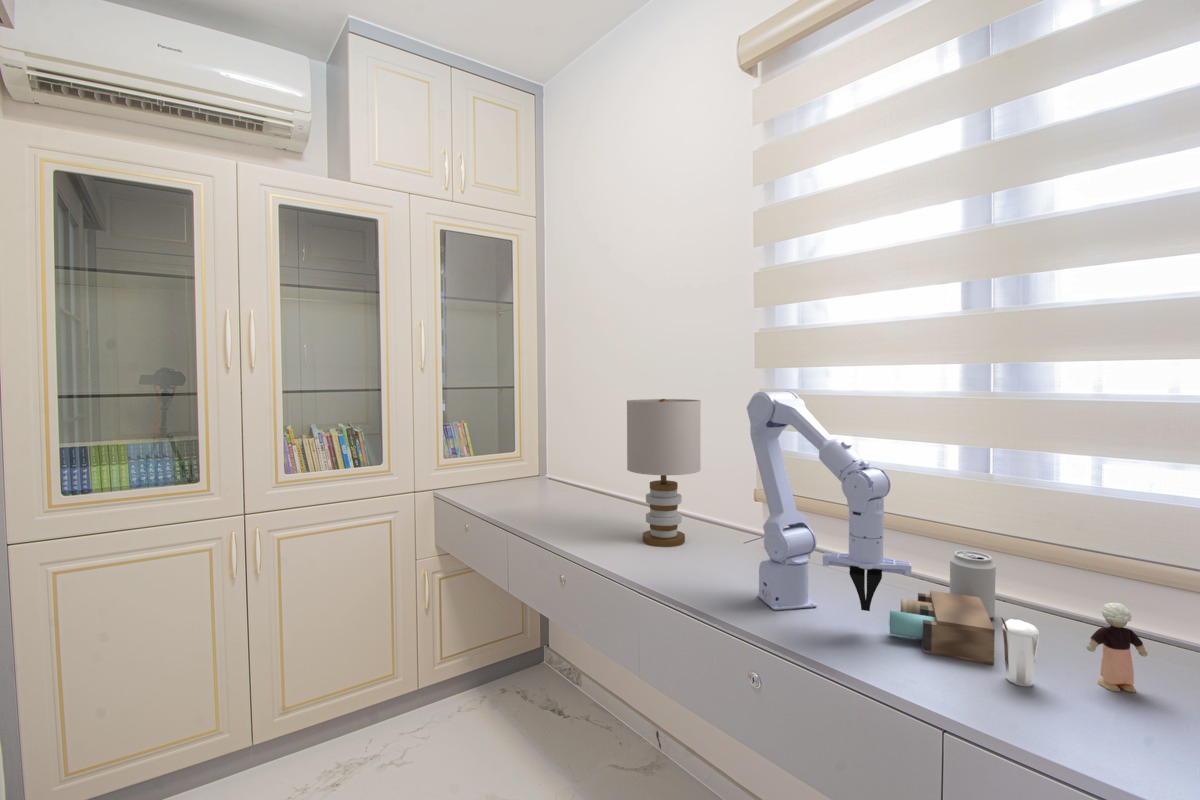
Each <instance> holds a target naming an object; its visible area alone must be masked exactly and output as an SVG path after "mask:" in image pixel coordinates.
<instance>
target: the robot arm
mask: <svg viewBox="0 0 1200 800" xmlns="http://www.w3.org/2000/svg"><path fill="white" fill-rule="evenodd" d="M746 411H747V415H748V419H749V423H750V429H749V430H750V431H749V432H750V434H749V435H750V439H751V442H752V443H751V444H752V447H753V448H752V449H753V452H754V454H755V455H754V456H755V460H756V463H757V468H758V471H759V475H760V478H761V479H760V480H761V482H762V487H763V491H764V495H765V499H766V503H767V507H768V512H769V516H768V518H767V520H766V521H765V522H764V524H763V526H762V528H763V532H764V539H763V545H764V549H765V552H766V554H767V555H768V556H769V558H768V559H766V560H762V561H761V562H760V564H759V567H758V593H757V595H756V596H757V597H758V598H759V599H760V600H762V601H763V603H765V604H766V605H768V606H769V607H770V608H771V609H772V610H774V611H778V610H793V609H803V608H804V609H805V608H808V609H809V608H816V607H817V606H818V604H817V603H816V602H814V601H813V600H812V599H810V598H809V560H810V559H811V555H812V553H814V552H815V550H816V547H817V542H818V541H817V537H816V534H815V532H814V531H813V529H812V527H810V524H809V520H808V517H806V516H805V515H804V514H802V513H801V512H800V511H799V510H797V509H798V508H797V506H796V501H795V499H794V494H793V490H792V486H791V484H790V483H791V482H790V479H789V475H788V471H787V468H786V463H785V461H784V457H783V456H784V455H783V452H782V448H781V445H780V441H779V437H780V435H781V433H782V432H783V430H785V429H786V428H787V427H788V426H791V427H793V428H794V429H795V430H796V431H797V432H798V433H799V434H801V436H802V437H804V438H805V439H806V440H807V441H808V442H809V443H810V444H811V445H812V446H814V447H815V449H817V450H818V458H819V461H821V463H822V464H823V465H824V466H825V467H826V468H827V469H828V470H829V471H830V472H831V473H832V474H833V475H834V476H835V477H836V478H837V480H839V482H841V490H842V493H843V494H844V496H845V497H846V501H847V503H846V504H847V507H848V553H840V552H839V553H836V552H835V553H833V552H823V553H822V566H825V567H829V566H833V567H840V568H841V567H842V568H848V569H849V571H848V572H849V576H850V579H851V581H852V583H853V585H854V586H855V589H856V592H857V594H858V598H859V602H860V608H861V609H860V610H861V611H865V612H870V611H871V603H872V601H873V597H874V594H875V592H876V590H877V588H878V586H879V585H880V583H881V582H882V581H881V580H882V579H883V573H888V574H889V573H891V574H897V575H898V574H900V575H904V576H905V577H912V562H909V561H902V560H897V559H892V558H888V557H887V558H886V557H884V514H885V513H884V507H885V506H884V503H885V502H884V501H885V498H886V497H887V496H888V495H889V493H890V491H891V480H890V477H889V476H888V475H887V473H886V472H885V470H884V469H883V468H881V467H878V466H871V464H870V462H869V461H868V460H865V459H863V458H862V457H861V456H860V455H859V454H858V453H857V452H856V451H855V450H853V448H852V444H851V442H849V441H848V440H844V439H843V438H833V437H832V436H831V434H830V433H828V431H827V430H826V429H825V428H824V427H823V426H822V425H821V423H819V421H818V419H816V418H815V417H814V416H813V414H812V413H811V412H810V411H809V410H808V409H807V407H806V403H805V401H804V400H803V399H801V397H799V395H798V394H797V393H795V392H794V391H790V390H786V391H769V392H767V391H758V392H756V393H754V394H753V395H752V396H751V399H750V400H749V403H748V404H747V405H746ZM786 526H788V527H786ZM865 572H866V573H865ZM865 578H866V579H865ZM865 580H866V581H865ZM865 582H866V583H865Z"/></svg>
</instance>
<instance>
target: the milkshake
mask: <svg viewBox="0 0 1200 800" xmlns="http://www.w3.org/2000/svg"><path fill="white" fill-rule="evenodd" d="M1000 618H1001V621H1002V623H1003V624H1002V636H1003V647H1004V665H1005V666H1004V667H1005V679H1007V681H1009V682H1010V683H1012V684H1013V685H1017V686H1020V687H1032V686H1033V685H1034V679H1035V669H1036V662H1037V661H1036V660H1037V653H1038V652H1037V651H1038V646H1039V641H1040V640H1039V639H1040V632H1039V630H1038V628H1037V627H1036V626H1035V625H1034V624H1031V623H1029V622H1026V621H1023V620H1021V619H1013V618H1010V619H1007V620H1006V621H1005V618H1003V617H1001V616H1000Z"/></svg>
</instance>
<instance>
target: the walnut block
mask: <svg viewBox="0 0 1200 800" xmlns="http://www.w3.org/2000/svg"><path fill="white" fill-rule="evenodd" d="M917 601H921V602H928V603H932V605H933V607H930V606H923V605H920V615H924V616H930V617H935V618H936V622H935V621H928V620H923V639H920V641H921V647H922V652H923V653H925V654H932V655H937V656H938V655H939V656H943V657H949V658H955V659H961V660H965V661H972V662H976V663H982V664H988V665H995V640H996V639H995V638H996V637H995V636H996V635H995V632H996V631H995V628H994V625H993V623H992V621H991V618H989V616H988V614H987V612H986V610H985V608H984V605H983V603H982V601H981V599H980V597H974V596H966V595H959V594H952V593H950V592H943V591H936V590H929V594H927V593H921V592H920V593H919V592H918V593H917Z"/></svg>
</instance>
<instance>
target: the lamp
mask: <svg viewBox="0 0 1200 800" xmlns="http://www.w3.org/2000/svg"><path fill="white" fill-rule="evenodd" d="M701 468H702V467H701V400H700V399H688V398H687V399H685V398H684V399H682V398H681V399H680V398H677V399H676V398H673V399H672V398H658V399H657V398H656V399H655V398H653V399H652V398H649V399H648V398H647V399H628V400H626V470H627V471H628V472H630V473H635V474H640V475H649V476H660V479H658V480H653V481H650V482H649V492H648V493H646V494H645V503H646V504H648V505H649V512H647V513H646V514H645V522H646V523H647V524H648V525H649V527H650V530H646V531H644V532H643V533H642V542H643V544H644V543H645V544H646V545H649V546H653V547H661V548H672V547H679V546H681V545H683V544H685V542H686V535H685V533H684V532H681V531H680V530H678V527H679V525H680V524H682V522H683V521H682V514H681V513H679V512H678V508H679V507H678V506H679V505H681V503H682V501H683V499H682V497H683V496H682V495H681V494H680V493H678V487H679V486H678V482H677V481H675V480H667V476H682V475H691V474H696V473H697V474H698V473H700V472H701V470H702V469H701Z"/></svg>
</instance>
